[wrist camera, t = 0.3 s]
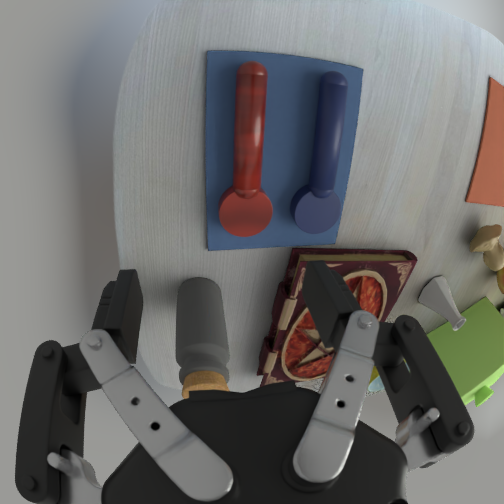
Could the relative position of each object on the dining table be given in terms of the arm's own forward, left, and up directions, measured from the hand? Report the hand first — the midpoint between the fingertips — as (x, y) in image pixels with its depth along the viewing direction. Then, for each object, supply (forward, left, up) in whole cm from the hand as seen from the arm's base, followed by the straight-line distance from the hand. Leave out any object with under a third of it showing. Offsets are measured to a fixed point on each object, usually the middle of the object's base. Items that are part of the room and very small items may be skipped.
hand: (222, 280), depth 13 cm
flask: (+22, +41, -18) cm, 50 cm away
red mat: (-8, +50, -18) cm, 54 cm away
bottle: (+17, -2, -18) cm, 25 cm away
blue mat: (-1, +8, -18) cm, 20 cm away
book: (+25, +18, -18) cm, 36 cm away
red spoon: (-1, +4, -18) cm, 18 cm away
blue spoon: (-1, +12, -18) cm, 21 cm away
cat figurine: (+11, +51, -18) cm, 55 cm away
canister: (+44, +62, -18) cm, 78 cm away
